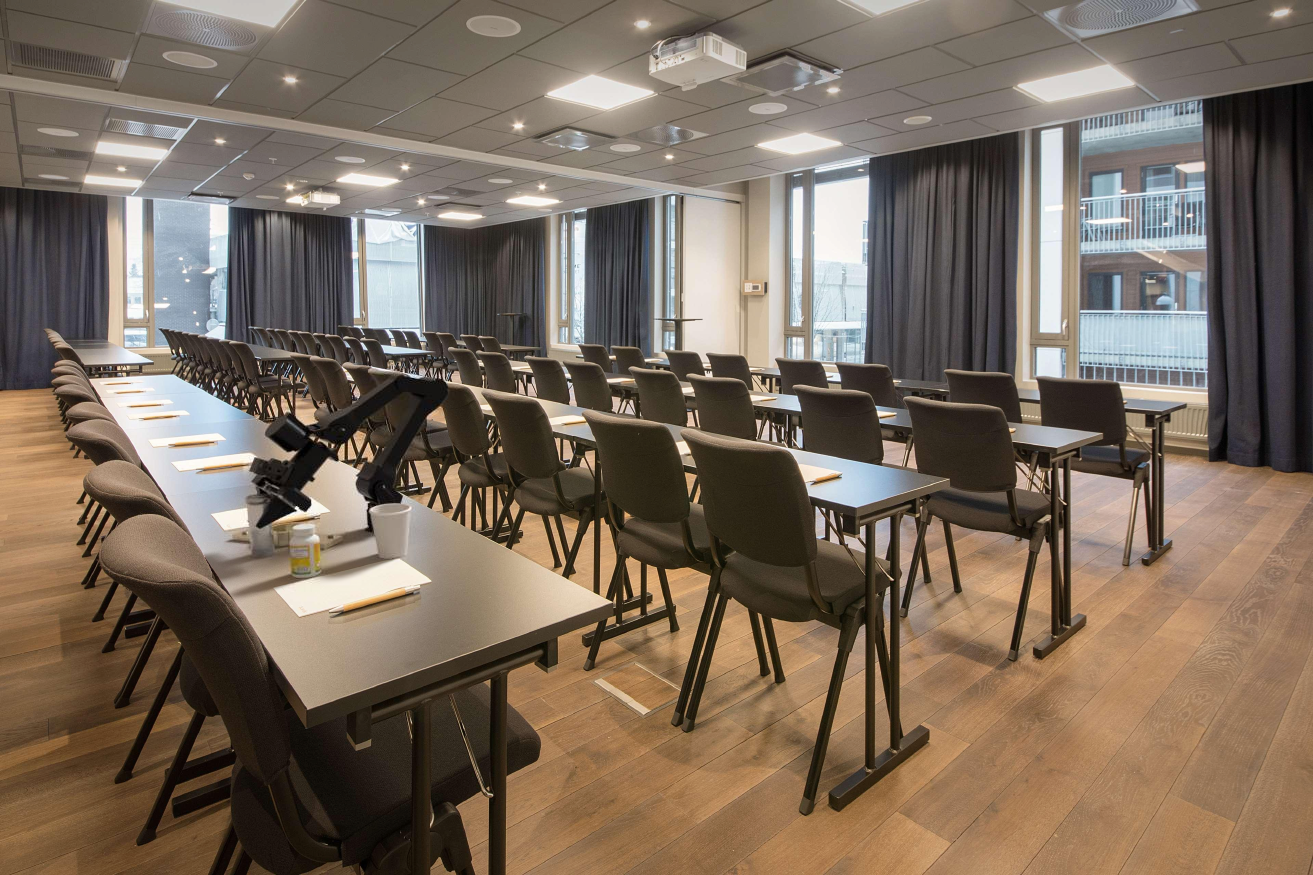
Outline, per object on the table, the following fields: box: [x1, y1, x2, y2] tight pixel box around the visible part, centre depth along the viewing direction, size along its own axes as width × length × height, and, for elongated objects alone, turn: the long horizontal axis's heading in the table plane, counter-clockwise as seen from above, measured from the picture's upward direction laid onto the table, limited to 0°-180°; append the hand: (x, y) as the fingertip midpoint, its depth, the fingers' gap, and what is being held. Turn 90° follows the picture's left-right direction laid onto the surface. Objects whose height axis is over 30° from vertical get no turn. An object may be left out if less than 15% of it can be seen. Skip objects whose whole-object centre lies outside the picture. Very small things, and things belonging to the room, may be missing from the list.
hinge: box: [232, 521, 344, 550], centre depth 171 cm, size 24×8×3 cm, turn 75°
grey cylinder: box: [244, 493, 276, 559], centre depth 160 cm, size 5×5×12 cm
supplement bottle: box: [289, 523, 322, 579], centre depth 149 cm, size 5×5×10 cm
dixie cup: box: [369, 503, 412, 560], centre depth 161 cm, size 8×8×10 cm
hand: (253, 525), depth 159 cm, fingers closed on grey cylinder, 4 cm apart
